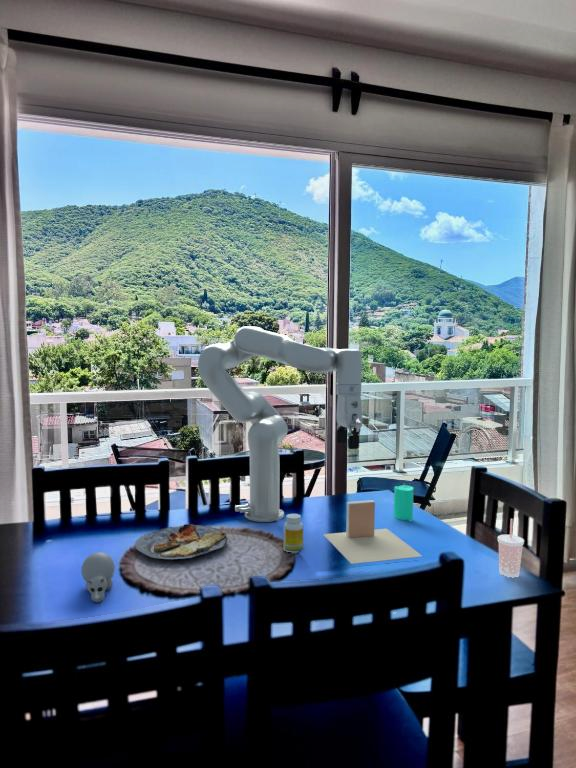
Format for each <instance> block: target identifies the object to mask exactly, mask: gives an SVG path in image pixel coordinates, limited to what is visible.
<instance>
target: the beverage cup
mask: <svg viewBox="0 0 576 768" xmlns="http://www.w3.org/2000/svg"><path fill="white" fill-rule="evenodd" d="M509 523H510V524H509V534H501V535H498V536H497V542H498V569H499V571H498V572H500V573H499V575H501V574H502V575H504V576H503V577H505V576H507V577H506V578H509V577H512V578H511V579H515V578H514V577H517V578H519V577H520V572H521V571H520V570H521V562H522V554H523V553H522V552H523V545H524V544H525V539H524V538H523V537H521V536H518V535H513V518H510V522H509ZM502 575H501V576H502Z"/></svg>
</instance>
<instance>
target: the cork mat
mask: <svg viewBox="0 0 576 768" xmlns="http://www.w3.org/2000/svg"><path fill="white" fill-rule="evenodd" d="M322 534H323V533H322ZM323 536H324V537H325V538H326V539H327V540H328V541H329V542H330V543H331V545H333V546H334V548H335V549H336V550H337V551H338V552H339V553H341V555H342V556H343V557H344V558H345V559H346V560H347V561H348V562H349V564H351V565H354V564H363V563H364V564H365V563H373V562H383V561H391V560H401V559H411V558H419V557H423V555H422V554H420V553H419V552H418V551H416V549H414V548H413V547H411V546H410V545H409V544H407V543H406V542H405V541H403V540H402V539H401V538H400V537H398V536H397V535H396V534H395V533H393V532H392V531H391V530H389V529H388V528H380V529H378V528H377V529H374V536H364V537H353V538H348V537H347V536H346V531H345V532H334V533H324V534H323ZM414 561H415V562H416V561H418V560H416V559H414ZM405 562H406V563H407V562H408V560H406V561H405ZM395 563H399V562H397V561H396V562H395ZM387 564H390V563H388V562H387V563H386V565H387Z"/></svg>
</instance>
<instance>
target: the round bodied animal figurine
mask: <svg viewBox="0 0 576 768" xmlns="http://www.w3.org/2000/svg"><path fill="white" fill-rule="evenodd" d="M114 561H115V560H113V558H112V557H111V555H109V554H107V553H106V552H101V551H100V552H94V553H92V554H90V555H88V556H87V557H86V558H85V559H84V561H83V563H82V565H81V570H80V571H81V576H82V578H83V580H84V581H85V582H86V583H85V589H86V591H88V592H89V594H90V595H91V596H90V597H91V600H92V602H95V603H100V602H102V601H103V600H104V599H105V592H106V591H109V590H110V589H112V588H113V580H112V578H113V577H114V573H115V568H116V567H115V562H114Z"/></svg>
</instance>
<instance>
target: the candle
mask: <svg viewBox="0 0 576 768" xmlns="http://www.w3.org/2000/svg"><path fill="white" fill-rule="evenodd" d="M414 489H415V488H414V487H413V486H411V485H406V484H403V485H399V486H398V485H397V486H394V488H393V490H394V492H393V518H395V519H397V520H404V521H409V522H410V523H412V522H413V520H414V519H413V518H414V517H413V516H414Z"/></svg>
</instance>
